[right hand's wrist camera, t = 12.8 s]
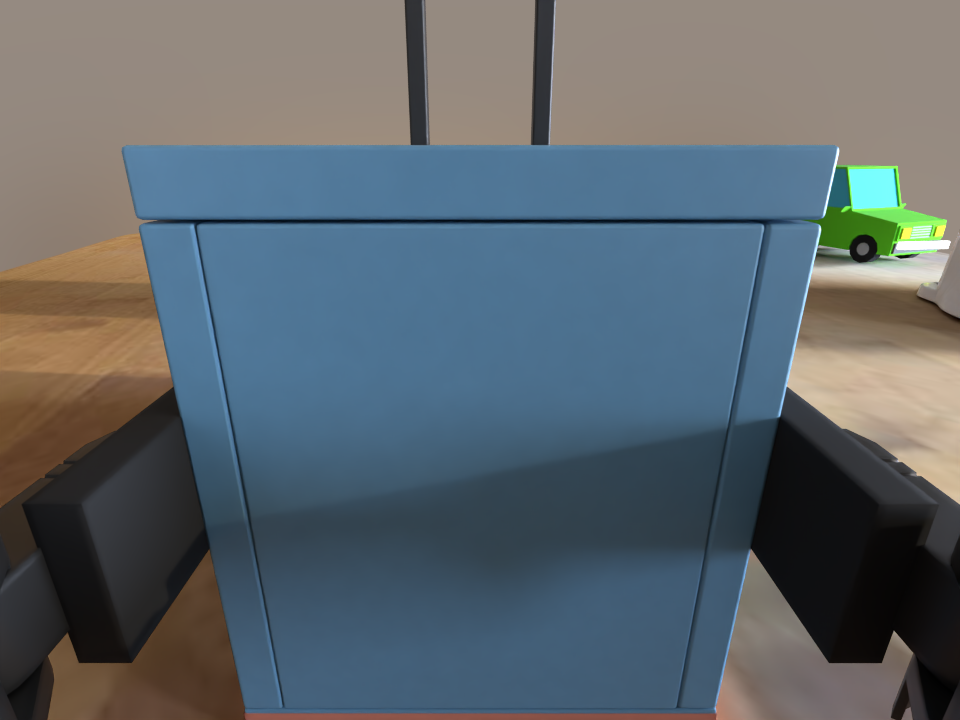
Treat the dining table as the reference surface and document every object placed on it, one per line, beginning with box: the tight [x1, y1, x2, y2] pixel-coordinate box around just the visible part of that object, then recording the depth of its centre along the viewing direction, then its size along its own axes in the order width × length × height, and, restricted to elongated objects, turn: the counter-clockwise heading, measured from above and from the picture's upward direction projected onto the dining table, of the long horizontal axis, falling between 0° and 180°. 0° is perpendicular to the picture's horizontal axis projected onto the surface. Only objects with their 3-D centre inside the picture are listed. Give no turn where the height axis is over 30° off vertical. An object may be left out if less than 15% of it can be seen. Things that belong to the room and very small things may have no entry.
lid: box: [122, 0, 839, 220], centre depth 15 cm, size 18×10×9 cm, turn 0°
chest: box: [139, 220, 821, 720], centre depth 18 cm, size 18×10×11 cm, turn 0°
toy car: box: [803, 165, 946, 263], centre depth 63 cm, size 10×13×10 cm
